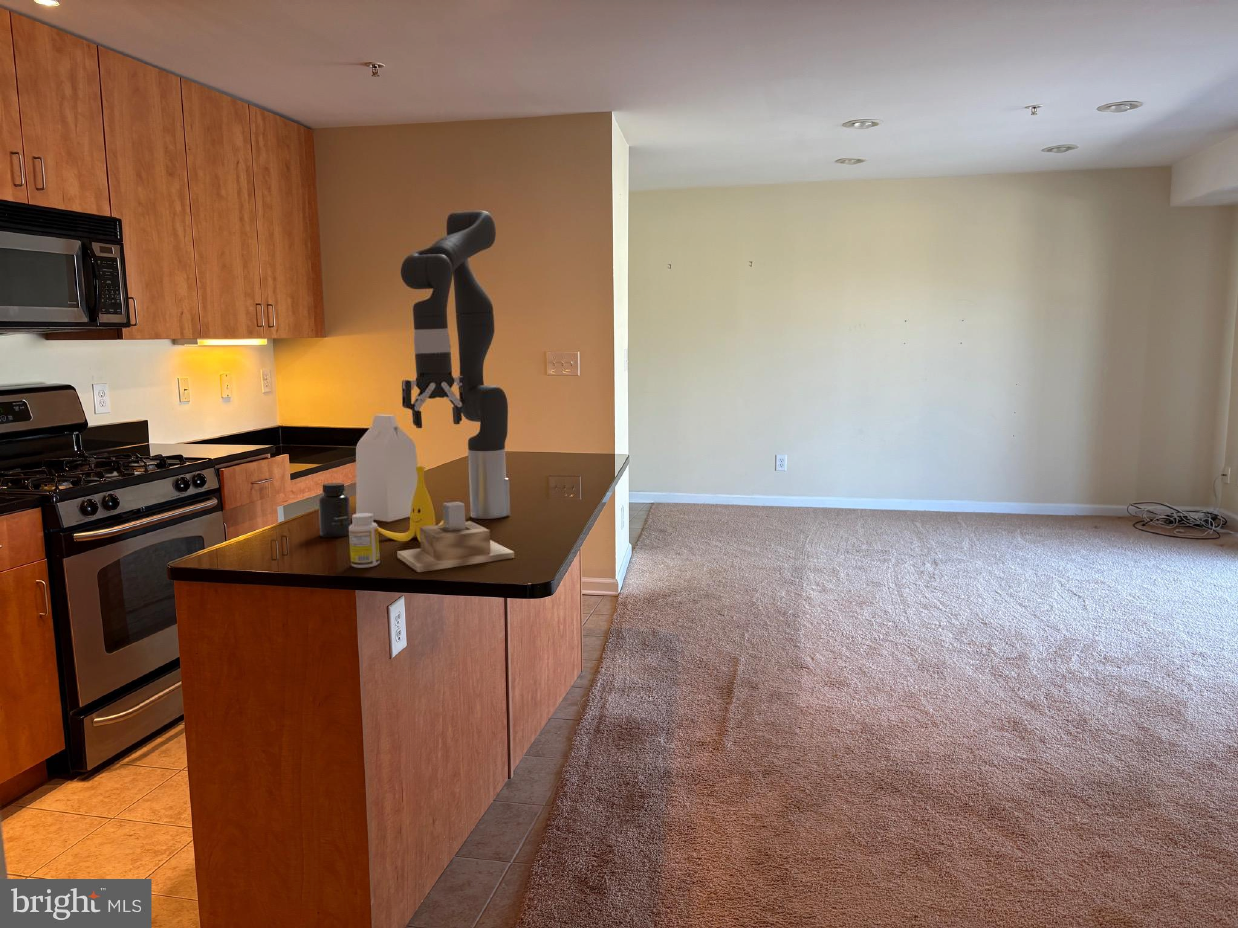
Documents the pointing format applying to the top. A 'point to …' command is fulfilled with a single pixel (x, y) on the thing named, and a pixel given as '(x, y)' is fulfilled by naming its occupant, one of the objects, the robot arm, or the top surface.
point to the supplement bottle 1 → (334, 511)
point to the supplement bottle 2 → (364, 541)
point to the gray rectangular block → (454, 517)
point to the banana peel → (417, 511)
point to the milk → (385, 471)
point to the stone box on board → (453, 548)
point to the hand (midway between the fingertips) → (438, 426)
